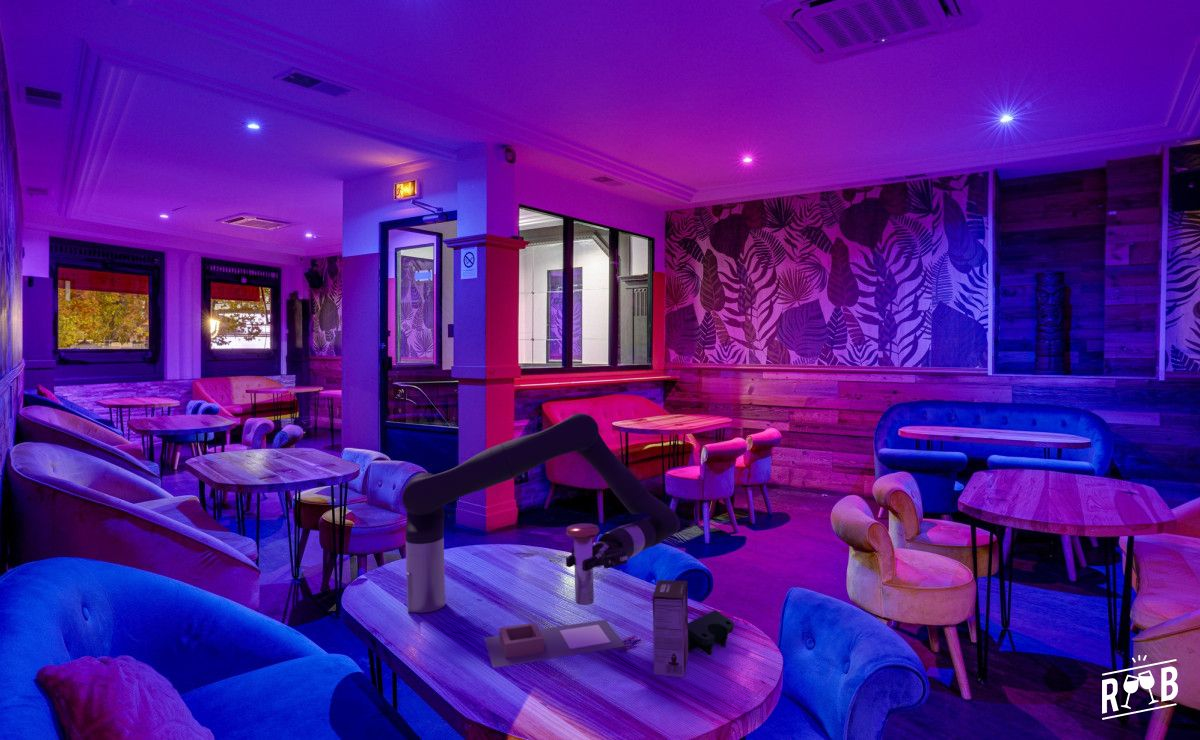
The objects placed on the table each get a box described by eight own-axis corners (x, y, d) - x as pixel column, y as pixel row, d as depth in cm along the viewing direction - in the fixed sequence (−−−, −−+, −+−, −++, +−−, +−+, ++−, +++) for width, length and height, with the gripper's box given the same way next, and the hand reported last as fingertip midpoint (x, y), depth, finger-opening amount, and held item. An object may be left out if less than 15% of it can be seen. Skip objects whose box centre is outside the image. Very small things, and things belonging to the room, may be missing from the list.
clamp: (703, 675, 137) (699, 646, 133) (681, 659, 141) (677, 630, 137) (738, 638, 144) (736, 610, 139) (716, 624, 148) (713, 596, 144)
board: (493, 675, 130) (492, 653, 130) (483, 644, 143) (483, 624, 143) (625, 653, 138) (625, 632, 138) (605, 625, 152) (605, 606, 151)
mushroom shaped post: (573, 609, 138) (571, 534, 137) (565, 597, 145) (563, 525, 144) (604, 605, 140) (603, 530, 140) (595, 593, 147) (593, 522, 146)
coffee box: (658, 653, 138) (657, 578, 137) (688, 656, 137) (688, 580, 136) (653, 675, 129) (652, 595, 128) (685, 678, 128) (684, 597, 127)
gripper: (597, 522, 158) (550, 541, 144) (647, 532, 149) (601, 553, 135) (598, 553, 158) (551, 575, 144) (647, 564, 149) (602, 588, 136)
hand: (575, 564), depth 140 cm, fingers closed on mushroom shaped post, 4 cm apart
